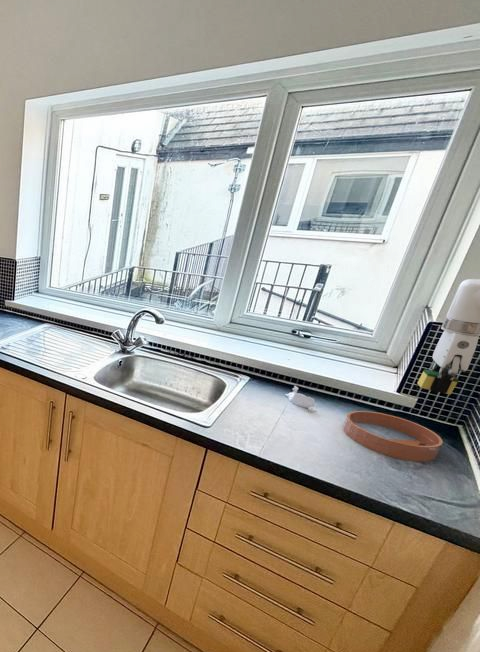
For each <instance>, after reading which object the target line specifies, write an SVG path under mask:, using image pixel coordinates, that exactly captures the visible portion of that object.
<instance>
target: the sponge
mask: <svg viewBox="0 0 480 652" xmlns="http://www.w3.org/2000/svg"><path fill="white" fill-rule="evenodd" d="M438 373H439V372H436V371H431V370H430V369H423V370H422V373H421V375H420V377H419V379H418V380H417V385H418V386H419V388H421V389H424V390H429V391H431V390H430V388H431V385H432V383H433V381H434V379H435V377H437V376H438ZM459 381H460V380H459V378H457V376H456V375H455V376H454V379H453V380H452V382H451V385H450V387H449V389H448V391H447V393H445V394H447V395H449V396H450V395H451V394H452V393H453V391H454V389H455V387H456V386H457V384H458V382H459Z"/></svg>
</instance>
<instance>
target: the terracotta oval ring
mask: <svg viewBox="0 0 480 652" xmlns="http://www.w3.org/2000/svg"><path fill="white" fill-rule="evenodd" d="M357 423H361V424H369V425H370V424H371V425H376V426H380V427H384V428H389V429H391V430H394V431H398V432H400V433H402V434H406V435H408V436H410V437H412V438H414V439H415V440H413V439H412V440H411V439H396V438H395V439H394V438H393V439H392V438H385V437H384V436H380V435H377V434H375V433H372V432H370V431H368V430H366V429H364V428H362V427H360V426H359V425H357ZM342 431H343V433H344V434H345V435H346V436H348V438H350V439H351V440H352V441H354V442H355V443H357V444H359V445H360V446H363V447H365V448H367V449H369V450H371V451H373V452H377V453H378V454H381V455H384V456H388V457H391V458H394V459H397V460H398V459H399V460H403V461H407V462H417V463H418V462H419V463H424V462H431V461H433V460H435V459H436V458H437V456H438V454H439V452H440V450H441V448H442V446H443V442H444V441H443V439H442V438H441V436H440V435H439V434H437V433H436V432H435V431H433V430H431V429H429V428H427V427H425V426H423V425H420V424H419V423H417V422H414V421H411V420H408V419H405V418H402V417H399V416H396V415H395V416H394V415H392V414H386V413H382V412H378V411H377V412H375V411H370V410H369V411H367V410H355V411H351V412H348V413H347V414H346V416H345V419H344V422H343V424H342ZM419 443H423V444H427V445H431V446H418V445H419Z"/></svg>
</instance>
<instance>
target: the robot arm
mask: <svg viewBox="0 0 480 652" xmlns="http://www.w3.org/2000/svg"><path fill="white" fill-rule="evenodd" d="M440 329H441V330H442V331H443V332H442V334H441V336H440V338H439V340H438V342H437V344H436V346H435V348H434V351H433V353H432V360H433V361H434V363H433V365H432V367H431V371H436V372H439V373H438V376H437V377H435V379H434V381H433V383H432V385H431V388H430V390H429V391H431V392H437V393H442V394H446V393H447V391H448V389H449V387H450V385H451V382H452V380H453V379H454V376H455V377H456V376H457V375H458V373H459V371H460V372H466V371H467V370H468V369H469V366H470V364H471V362H472V359H473V357H474V354H475V351H476V348H477V345H478V342H479V338H480V278H468V279H463V280H462V282H460V284H459V286H458V287H457V290H456V292H455V295H454V297H453V300H452V301H451V304H450V306H449V309H448V311H447V313H446V315H445V318H444V319H443V323H442V324H441V327H440Z"/></svg>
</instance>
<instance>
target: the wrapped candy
mask: <svg viewBox="0 0 480 652" xmlns="http://www.w3.org/2000/svg"><path fill="white" fill-rule="evenodd" d="M291 390H292V392H288V393H285V394H284V396H285V397H286V398H287V399H288V400H289V401H290V402H291V403H292V404H294V405H296V406H298V407H301V408H305V409H307V411H308V413H316V412H317V410H316V409H314V408H315V405H316V406H318V404H317V403H315V398H314V397H311V396H306V395H305V394H302V393H298V391H299V386H297V385H293V388H291Z"/></svg>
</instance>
